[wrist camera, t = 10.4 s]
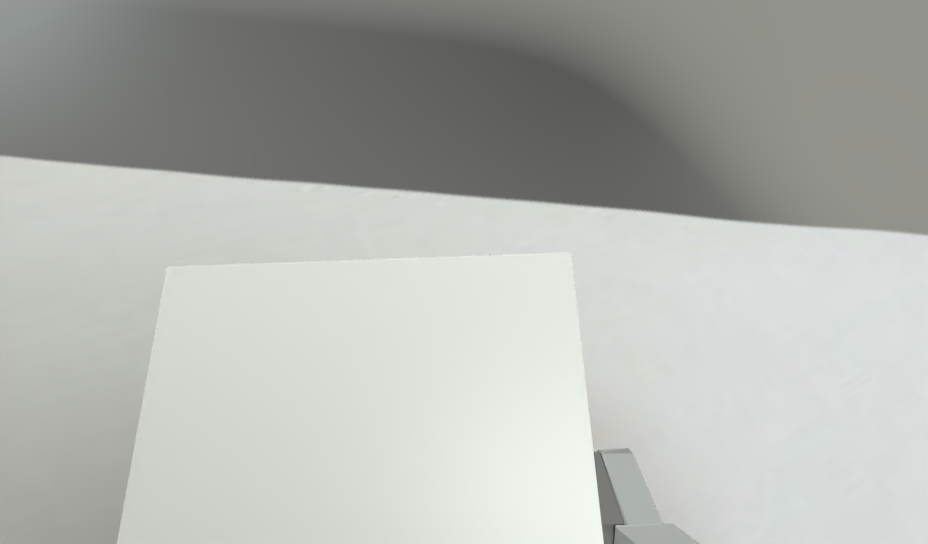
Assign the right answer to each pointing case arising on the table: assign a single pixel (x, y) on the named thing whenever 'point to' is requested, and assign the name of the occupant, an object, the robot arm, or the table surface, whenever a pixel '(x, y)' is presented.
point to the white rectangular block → (366, 406)
